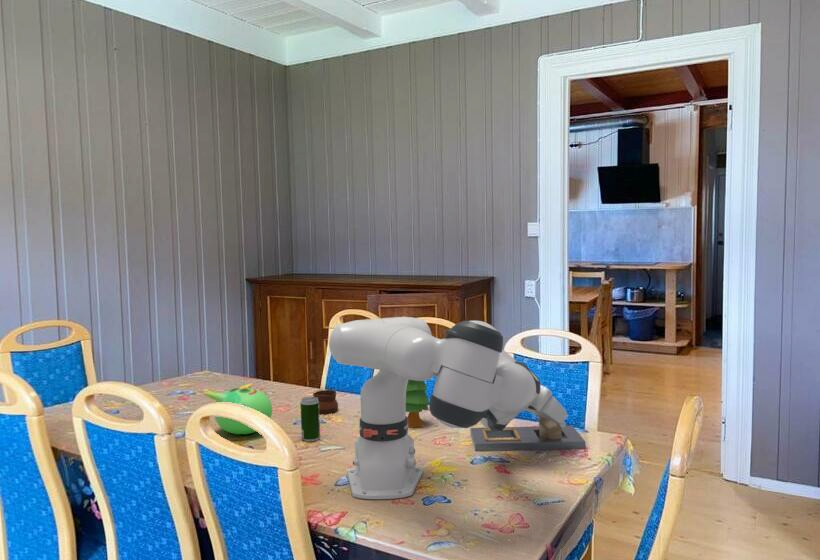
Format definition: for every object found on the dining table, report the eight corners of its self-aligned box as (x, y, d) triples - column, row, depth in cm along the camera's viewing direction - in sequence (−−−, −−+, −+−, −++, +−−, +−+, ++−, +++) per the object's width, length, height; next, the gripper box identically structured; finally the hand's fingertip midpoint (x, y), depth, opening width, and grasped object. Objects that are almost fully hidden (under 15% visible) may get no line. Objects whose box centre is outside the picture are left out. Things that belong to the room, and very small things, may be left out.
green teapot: (283, 429, 194) (282, 382, 193) (243, 446, 180) (241, 395, 179) (241, 421, 203) (239, 377, 202) (200, 436, 189) (198, 388, 188)
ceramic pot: (341, 420, 203) (340, 398, 202) (290, 418, 207) (289, 397, 206) (358, 406, 220) (357, 386, 220) (311, 405, 224) (310, 385, 224)
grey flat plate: (585, 448, 171) (585, 440, 171) (475, 451, 171) (475, 443, 171) (572, 432, 185) (572, 425, 185) (470, 434, 185) (470, 427, 185)
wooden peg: (561, 441, 177) (561, 407, 176) (549, 444, 175) (548, 409, 174) (551, 437, 181) (551, 403, 180) (539, 439, 179) (539, 405, 178)
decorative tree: (395, 422, 198) (393, 328, 196) (422, 418, 203) (419, 326, 201) (409, 431, 190) (407, 332, 188) (436, 426, 194) (435, 329, 192)
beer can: (306, 443, 181) (304, 402, 180) (298, 438, 185) (297, 398, 184) (323, 439, 184) (321, 399, 183) (315, 434, 188) (314, 395, 187)
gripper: (495, 392, 181) (524, 420, 186) (539, 409, 163) (569, 440, 168) (508, 375, 183) (536, 403, 188) (553, 390, 165) (582, 421, 170)
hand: (552, 421), depth 178 cm, fingers open, 8 cm apart
